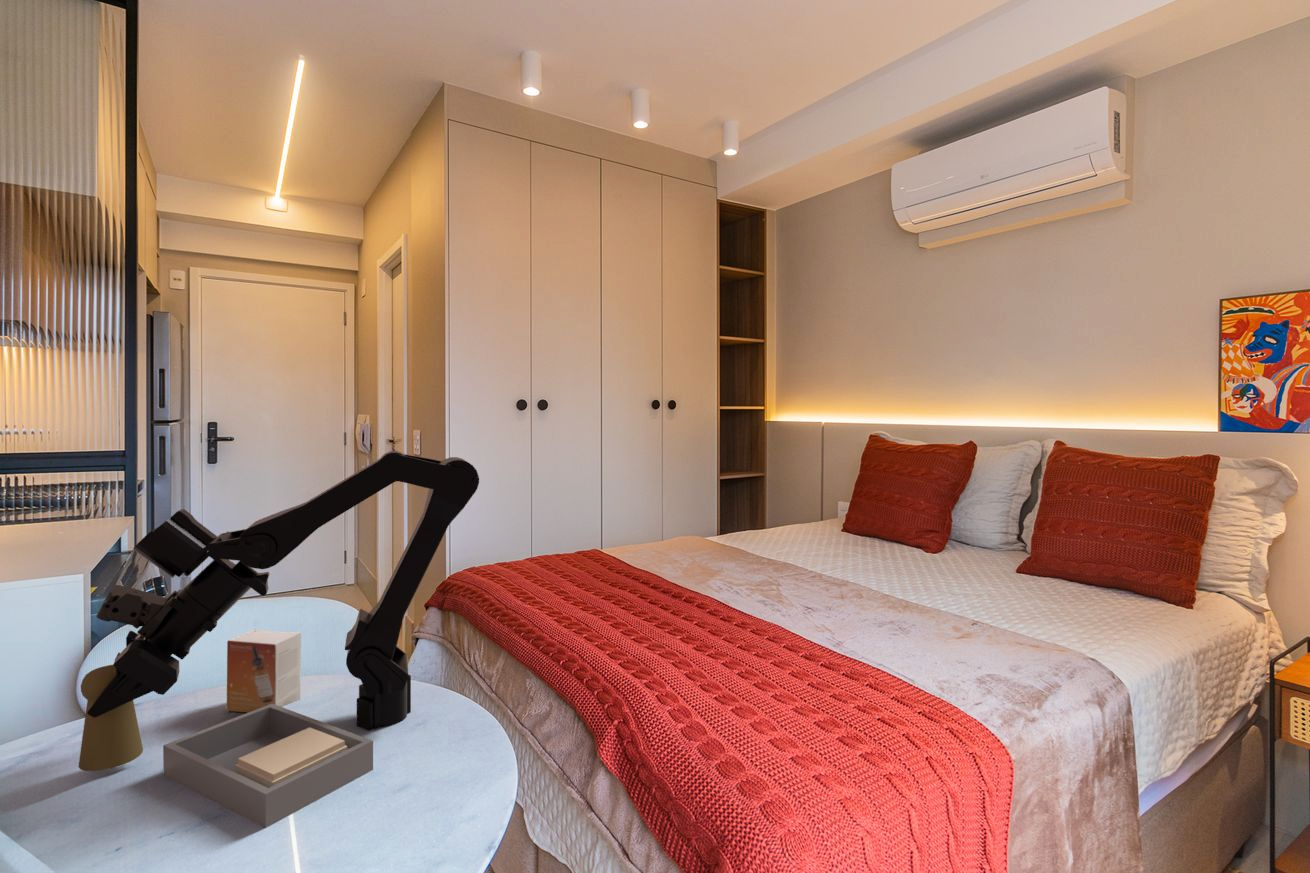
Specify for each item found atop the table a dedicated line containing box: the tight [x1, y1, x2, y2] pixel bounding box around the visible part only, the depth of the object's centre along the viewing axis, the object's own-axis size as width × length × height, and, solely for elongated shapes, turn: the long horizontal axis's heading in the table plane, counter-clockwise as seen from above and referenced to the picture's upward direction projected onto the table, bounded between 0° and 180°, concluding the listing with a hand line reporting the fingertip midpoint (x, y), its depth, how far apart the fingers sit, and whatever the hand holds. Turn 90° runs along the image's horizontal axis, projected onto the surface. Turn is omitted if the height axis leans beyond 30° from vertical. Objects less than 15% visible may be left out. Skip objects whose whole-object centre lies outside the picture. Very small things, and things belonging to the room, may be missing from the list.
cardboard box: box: [235, 727, 347, 788], centre depth 77 cm, size 9×7×4 cm
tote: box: [162, 704, 374, 829], centre depth 79 cm, size 13×20×4 cm, turn 61°
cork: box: [77, 664, 144, 772], centre depth 80 cm, size 6×6×11 cm
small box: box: [226, 628, 302, 713], centre depth 99 cm, size 8×6×10 cm
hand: (95, 706), depth 80 cm, fingers closed on cork, 5 cm apart
